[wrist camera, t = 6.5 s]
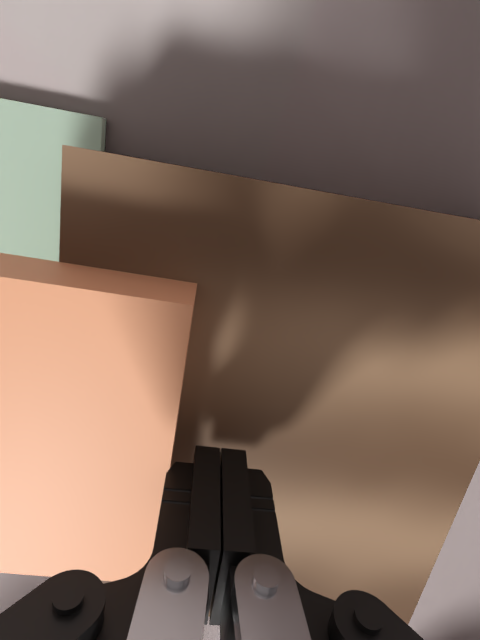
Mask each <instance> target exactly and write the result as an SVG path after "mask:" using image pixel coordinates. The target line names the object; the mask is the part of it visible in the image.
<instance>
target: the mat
mask: <svg viewBox="0 0 480 640" xmlns="http://www.w3.org/2000/svg"><path fill="white" fill-rule="evenodd" d="M105 134H106V119H104V118H102V117H97V116H92V115H86V114H81V113H76V112H71V111H65V110H60V109H55V108H50V107H44V106H39V105H34V104H29V103H23V102H18V101H13V100H7V99H2V98H0V253H5V254H12V255H18V256H25V257H31V258H38V259H44V260H50V261H57V262H59V244H60V208H61V171H62V145H68V146H73V147H79V148H85V149H91V150H97V151H103V152H104V151H105Z"/></svg>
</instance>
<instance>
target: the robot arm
mask: <svg viewBox="0 0 480 640" xmlns="http://www.w3.org/2000/svg"><path fill="white" fill-rule="evenodd" d="M209 610H210V624H209V625H220V640H424V639H423V638H422V637H420V636H419V635H418V634H417V633H416V632H415V631H414V630H413V629H412V628H411V627H410V626H408V625H407V624H406V623H405V622H404V621H403V620H402V619H401V618H400V617H399V616H398V615H396V614H395V613H394V612H393V611H392V610H391V609H390V608H389V607H388V606H387V605H386V604H384V603H383V602H382V601H381V600H380V599H378V598H377V597H375V596H374V595H372V594H370V593H367V592H364V591H360V590H349V591H346V592H343V593H342V594H341V595H339V597H338V598H337V599H336V601H335V600H332V599H330V598H327V597H325V596H322V595H320V594H317V593H315V592H312V591H310V590H308V589H307V588H305V587H303V586H302V585H301V584H300V583H298V582H297V581H296V580H295V578H294V575H293V574H292V572H291V570H290V569H289V568H288V567H287V566H286V565H285V562H284V558H283V552H282V546H281V540H280V534H279V528H278V523H277V517H276V513H275V505H274V500H273V493H272V487H271V483H270V481H269V480H268V478H267V477H266V475H265V474H264V472H263V471H262V470H260V469H249V468H248V466H247V456H246V451H245V450H239V449H229V448H221V450H220V448H218V447H208V446H198V445H196V446H195V452H194V458H193V463H186V462H175V463H174V464H173V465H172V467H171V468H170V469H169V470H168V472H167V473H166V477H165V483H164V489H163V495H162V501H161V506H160V512H159V518H158V524H157V530H156V535H155V541H154V547H153V551H152V554H151V556H150V559H149V560H148V562H147V563H146V564H145V565H144V566H143V567H142V568H141V569H140V570H139V571H138V572H136V573H134V574H133V575H131V576H129V577H126V578H123V579H120V580H116V581H112V582H108V583H104V584H103V583H102V581H101V580H100V579H99V578H98V577H97V576H96V575H95V574H93V573H91V572H89V571H85V570H79V569H77V570H68V571H64V572H61V573H58V574H56V575H54V576H52V577H51V578H49V579H48V580H46V581H45V582H44V583H42V584H41V585H39V586H38V587H37V588H35V589H34V590H33V591H31V592H30V593H28V594H27V595H26V596H24V597H23V598H22V599H20V600H19V601H17V602H16V603H15V604H13V605H12V606H11V607H9V608H8V609H7V610H5V611H4V612H2V613H1V614H0V640H203V633H204V625H207V621H208V615H209Z"/></svg>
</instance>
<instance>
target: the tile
mask: <svg viewBox="0 0 480 640" xmlns="http://www.w3.org/2000/svg"><path fill="white" fill-rule="evenodd" d="M196 289H197V283H192V282H185V281H179V280H173V279H166V278H160V277H153V276H147V275H140V274H134V273H128V272H121V271H115V270H108V269H102V268H95V267H89V266H83V265H76V264H70V263H63V262H57V261H50V260H44V259H38V258H31V257H25V256H18V255H12V254H5V253H0V573H11V574H23V575H36V576H49V577H52V576H54V575H56V574H58V573H61V572H64V571H68V570H77V569H79V570H85V571H89V572H91V573H93V574H95V575H96V576H97V577H98V578H99V579H100V580H101V581H116V580H120V579H123V578H126V577H129V576H131V575H133V574H134V573H136V572H138V571H139V570H140V569H141V568H142V567H143V566H144V565H145V564H146V563H147V562H148V560H149V559H150V556H151V554H152V551H153V547H154V541H155V535H156V530H157V524H158V518H159V512H160V506H161V501H162V495H163V489H164V483H165V477H166V473H167V472H168V470H169V469H170V468H171V462H172V455H173V448H174V441H175V434H176V428H177V421H178V414H179V407H180V400H181V393H182V386H183V379H184V372H185V365H186V359H187V352H188V345H189V338H190V331H191V324H192V317H193V310H194V303H195V296H196Z"/></svg>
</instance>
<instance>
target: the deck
mask: <svg viewBox="0 0 480 640" xmlns="http://www.w3.org/2000/svg"><path fill="white" fill-rule="evenodd" d="M59 262H63V263H70V264H76V265H83V266H89V267H95V268H102V269H108V270H115V271H121V272H128V273H134V274H140V275H147V276H153V277H160V278H166V279H173V280H179V281H185V282H192V283H197V289H196V296H195V303H194V310H193V317H192V324H191V331H190V338H189V345H188V352H187V359H186V365H185V372H184V379H183V386H182V393H181V400H180V407H179V414H178V421H177V428H176V434H175V441H174V448H173V455H172V462H171V467H172V465H173V464H174V463H175V462H186V463H193V458H194V452H195V446H196V445H198V446H208V447H218V448H220V450H221V448H229V449H239V450H245V451H246V456H247V466H248V468H249V469H260V470H262V471H263V472H264V474H265V475H266V477H267V478H268V480H269V481H270V483H271V487H272V493H273V500H274V505H275V513H276V517H277V523H278V528H279V534H280V540H281V546H282V552H283V558H284V562H285V565H286V566H287V567H288V568H289V569H290V570H291V572H292V574H293V575H294V578H295V580H296V581H297V582H298V583H300V584H301V585H302V586H303V587H305V588H307V589H308V590H310V591H312V592H315V593H317V594H320V595H322V596H325V597H327V598H330V599H332V600H335V601H336V599H337V598H338V597H339V595H341V594H342V593H343V592H346V591H349V590H360V591H364V592H367V593H370V594H372V595H374V596H375V597H377V598H378V599H380V600H381V601H382V602H383V603H384V604H386V605H387V606H388V607H389V608H390V609H391V610H392V611H393V612H394V613H395V614H396V615H398V616H399V617H400V618H401V619H402V620H403V621H404V622H405V623H406V624H407V625H408V623H409V621H410V619H411V617H412V614H413V612H414V610H415V607H416V605H417V603H418V601H419V598H420V596H421V594H422V591H423V589H424V587H425V585H426V582H427V580H428V578H429V575H430V573H431V571H432V569H433V566H434V564H435V562H436V559H437V557H438V555H439V552H440V550H441V548H442V546H443V543H444V541H445V539H446V536H447V534H448V532H449V530H450V527H451V525H452V523H453V520H454V518H455V516H456V514H457V511H458V509H459V507H460V504H461V502H462V500H463V498H464V495H465V493H466V491H467V488H468V486H469V484H470V481H471V479H472V477H473V475H474V472H475V470H476V468H477V465H478V463H479V461H480V220H478V219H472V218H467V217H461V216H456V215H450V214H445V213H439V212H434V211H428V210H423V209H417V208H412V207H406V206H401V205H395V204H389V203H384V202H378V201H373V200H367V199H362V198H356V197H351V196H345V195H340V194H334V193H329V192H323V191H318V190H312V189H307V188H301V187H296V186H290V185H285V184H279V183H274V182H268V181H263V180H257V179H252V178H246V177H241V176H235V175H230V174H224V173H219V172H213V171H208V170H202V169H197V168H191V167H186V166H180V165H175V164H169V163H164V162H158V161H153V160H147V159H142V158H136V157H131V156H125V155H120V154H114V153H109V152H103V151H97V150H91V149H85V148H79V147H73V146H68V145H62V171H61V208H60V244H59ZM50 578H51V577H50ZM108 582H112V581H102V583H103V584H104V583H108ZM208 616H210V610H209V615H208Z"/></svg>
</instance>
